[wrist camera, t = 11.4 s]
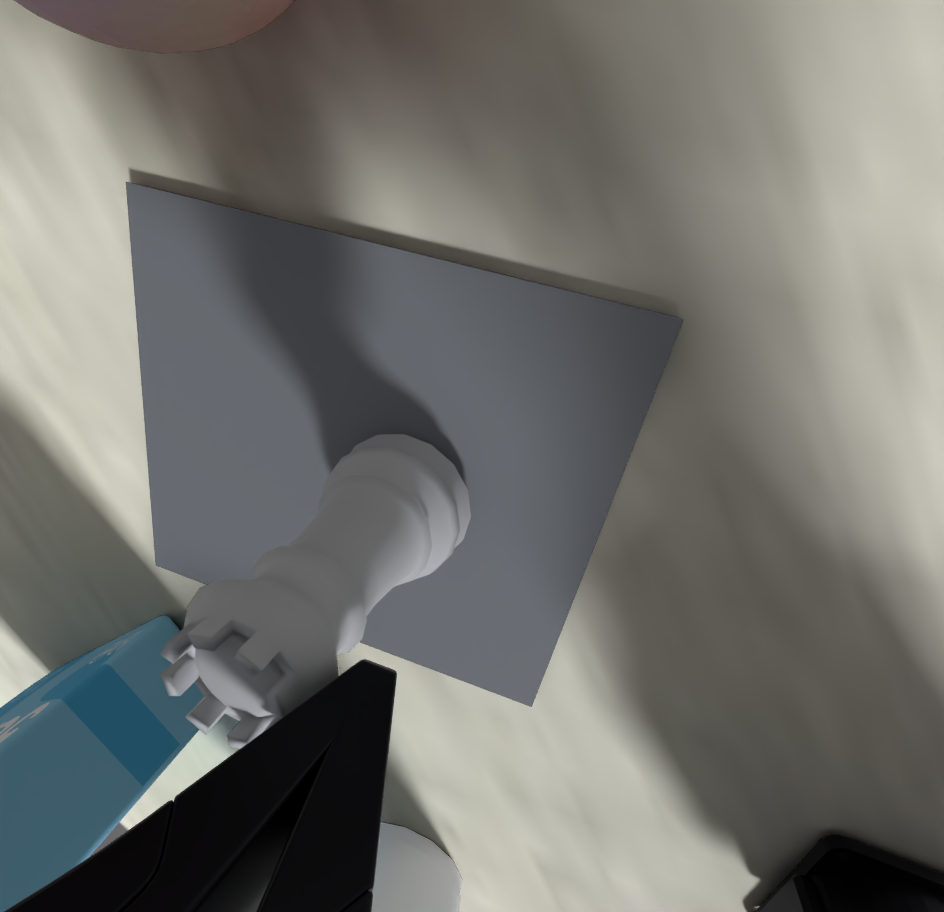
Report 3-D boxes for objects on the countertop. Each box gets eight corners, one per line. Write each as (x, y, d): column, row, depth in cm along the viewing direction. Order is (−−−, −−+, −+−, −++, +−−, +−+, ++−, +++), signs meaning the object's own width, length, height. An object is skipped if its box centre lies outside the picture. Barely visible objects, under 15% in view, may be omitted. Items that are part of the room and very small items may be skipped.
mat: (680, 318, 12) (683, 320, 11) (532, 698, 18) (531, 706, 17) (138, 184, 14) (125, 181, 14) (163, 560, 20) (155, 565, 19)
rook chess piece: (469, 569, 15) (342, 824, 8) (346, 539, 16) (138, 745, 9) (481, 441, 14) (336, 625, 7) (344, 417, 15) (87, 553, 8)
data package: (180, 603, 21) (-280, 973, 10) (243, 680, 22) (-116, 1098, 11) (49, 670, 25) (-361, 972, 14) (106, 731, 26) (-242, 1059, 15)
